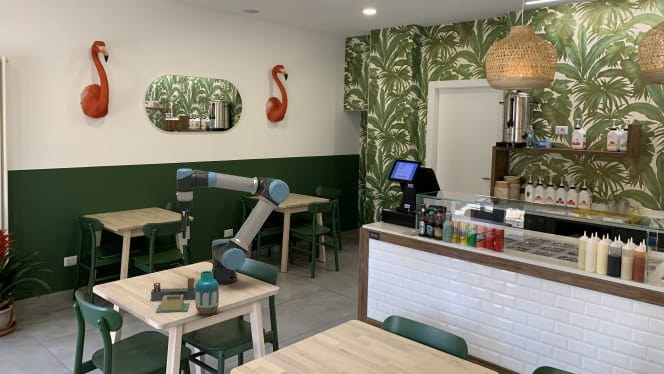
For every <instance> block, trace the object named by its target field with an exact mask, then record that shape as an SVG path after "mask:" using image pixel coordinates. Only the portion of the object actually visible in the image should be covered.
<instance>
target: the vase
mask: <svg viewBox="0 0 664 374" xmlns="http://www.w3.org/2000/svg"><path fill="white" fill-rule="evenodd" d="M219 286H220V285H219V284H218V282H217V281H216V280H215V279H214V278H213V272H212V270H203V271H200V279H199V280H197V281H196V283H195V285H194V288H195V300H194V303H195V308H196V311H197V312H198V313H199V314H201V315H210V314H213V313H215V312H216V311H217V310H218V308H219V304H220V303H219V302H220V288H219Z"/></svg>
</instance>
